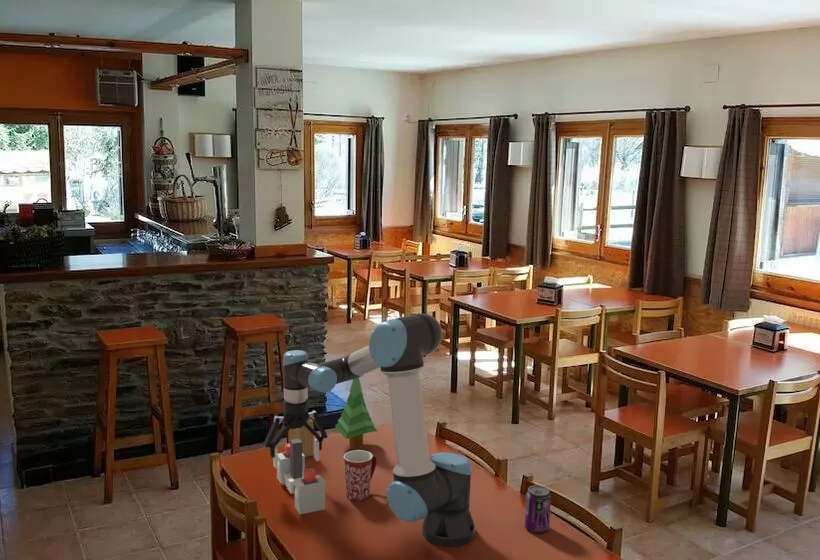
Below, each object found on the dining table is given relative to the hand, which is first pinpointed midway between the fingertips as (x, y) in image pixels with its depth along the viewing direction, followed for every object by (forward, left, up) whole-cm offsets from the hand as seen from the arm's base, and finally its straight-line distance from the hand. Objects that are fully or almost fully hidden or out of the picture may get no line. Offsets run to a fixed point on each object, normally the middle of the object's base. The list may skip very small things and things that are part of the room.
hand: (296, 463), depth 234 cm
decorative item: (+24, -9, -9) cm, 28 cm away
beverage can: (-52, -57, -9) cm, 77 cm away
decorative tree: (+24, -30, -9) cm, 40 cm away
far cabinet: (+6, 0, -9) cm, 11 cm away
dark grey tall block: (0, 0, -9) cm, 9 cm away
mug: (-12, -18, -9) cm, 23 cm away
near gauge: (-14, 0, 0) cm, 14 cm away
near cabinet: (-14, 0, -9) cm, 17 cm away
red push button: (+6, 0, 0) cm, 7 cm away
